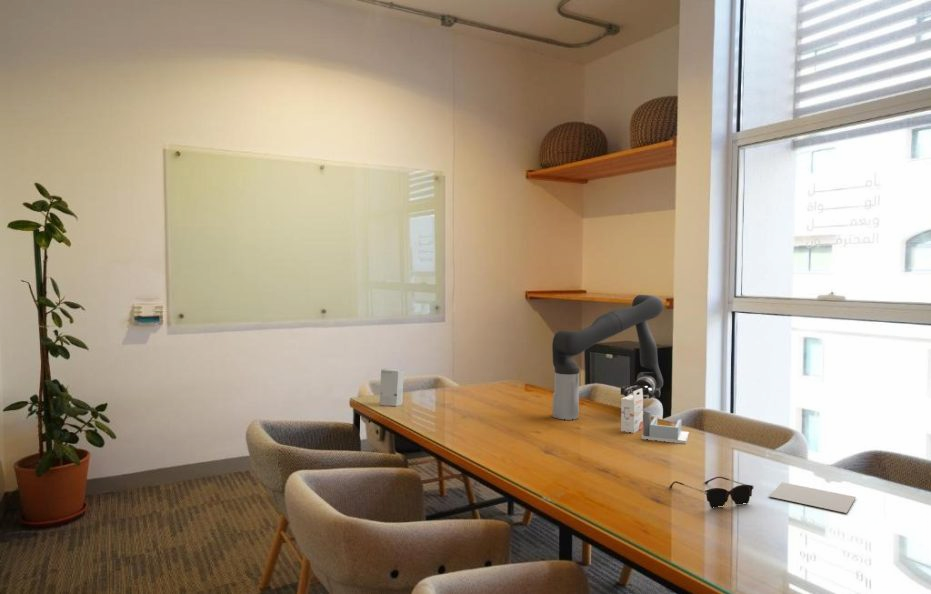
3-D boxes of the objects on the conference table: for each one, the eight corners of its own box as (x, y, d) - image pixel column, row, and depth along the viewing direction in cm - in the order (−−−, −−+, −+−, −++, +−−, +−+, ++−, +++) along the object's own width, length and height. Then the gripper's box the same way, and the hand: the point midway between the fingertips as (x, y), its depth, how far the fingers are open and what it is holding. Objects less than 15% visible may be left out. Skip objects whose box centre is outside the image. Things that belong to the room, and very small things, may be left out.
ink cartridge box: (629, 426, 227) (630, 386, 227) (643, 429, 224) (643, 388, 224) (620, 431, 220) (620, 389, 220) (633, 433, 217) (634, 391, 217)
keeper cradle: (641, 438, 210) (642, 412, 210) (646, 430, 222) (647, 405, 222) (685, 443, 204) (686, 416, 204) (688, 434, 216) (689, 408, 216)
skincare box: (379, 405, 260) (379, 369, 260) (386, 402, 266) (386, 367, 266) (397, 406, 258) (397, 370, 257) (403, 404, 263) (404, 368, 263)
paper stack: (790, 476, 173) (790, 473, 173) (900, 497, 157) (900, 494, 157) (768, 498, 155) (768, 496, 155) (889, 525, 139) (890, 522, 139)
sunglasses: (706, 511, 147) (706, 489, 147) (664, 492, 162) (664, 473, 162) (754, 505, 151) (753, 484, 151) (709, 487, 166) (708, 468, 166)
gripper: (625, 376, 250) (618, 383, 235) (663, 379, 244) (657, 386, 229) (625, 395, 250) (618, 403, 235) (662, 398, 244) (657, 406, 229)
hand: (637, 394), depth 232 cm, fingers open, 8 cm apart
